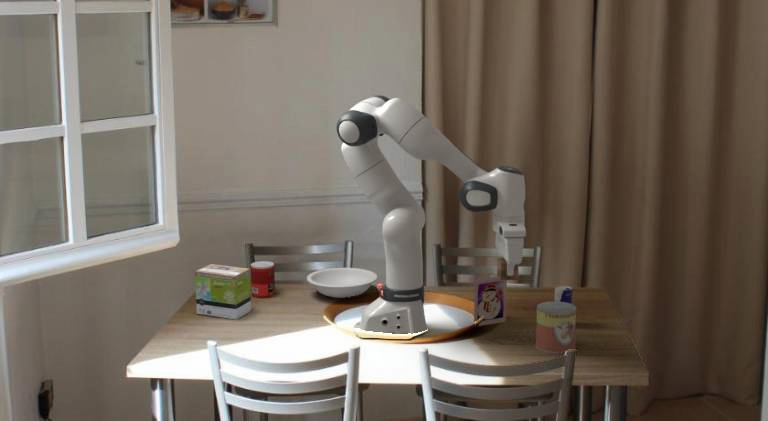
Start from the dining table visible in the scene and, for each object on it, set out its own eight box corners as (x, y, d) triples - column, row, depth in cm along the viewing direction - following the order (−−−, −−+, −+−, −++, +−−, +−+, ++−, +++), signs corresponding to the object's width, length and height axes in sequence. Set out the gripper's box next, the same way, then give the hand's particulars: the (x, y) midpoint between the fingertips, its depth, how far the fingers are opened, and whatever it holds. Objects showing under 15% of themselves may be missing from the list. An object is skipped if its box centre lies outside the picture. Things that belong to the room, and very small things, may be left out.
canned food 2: (549, 355, 292) (550, 314, 289) (528, 343, 302) (529, 304, 299) (582, 349, 296) (584, 309, 294) (561, 338, 306) (562, 299, 304)
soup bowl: (315, 284, 364) (314, 266, 363) (382, 286, 361) (382, 268, 360) (300, 304, 341) (299, 285, 340) (372, 307, 338) (371, 287, 336)
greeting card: (475, 327, 316) (476, 280, 313) (463, 320, 323) (464, 274, 320) (507, 322, 321) (508, 275, 318) (494, 315, 328) (495, 270, 325)
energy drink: (571, 328, 315) (572, 290, 312) (553, 327, 316) (554, 289, 314) (571, 323, 320) (572, 285, 318) (554, 322, 321) (555, 284, 319)
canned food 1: (273, 298, 348) (272, 266, 345) (250, 298, 348) (249, 266, 346) (276, 291, 355) (275, 261, 353) (253, 292, 355) (252, 261, 353)
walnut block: (500, 280, 290) (500, 262, 289) (497, 275, 295) (497, 258, 294) (518, 279, 290) (518, 262, 289) (514, 274, 295) (514, 258, 294)
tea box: (195, 315, 330) (193, 270, 327) (212, 306, 339) (210, 262, 336) (236, 320, 325) (234, 275, 322) (252, 311, 334) (250, 267, 331)
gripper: (490, 216, 299) (489, 262, 302) (504, 232, 279) (503, 282, 282) (512, 216, 300) (511, 262, 302) (527, 232, 280) (526, 281, 282)
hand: (507, 272), depth 292 cm, fingers closed on walnut block, 5 cm apart
